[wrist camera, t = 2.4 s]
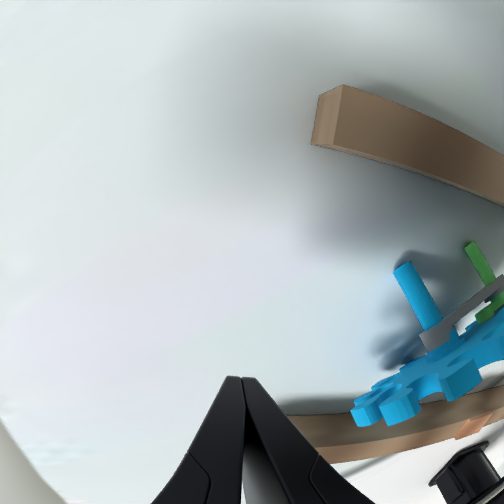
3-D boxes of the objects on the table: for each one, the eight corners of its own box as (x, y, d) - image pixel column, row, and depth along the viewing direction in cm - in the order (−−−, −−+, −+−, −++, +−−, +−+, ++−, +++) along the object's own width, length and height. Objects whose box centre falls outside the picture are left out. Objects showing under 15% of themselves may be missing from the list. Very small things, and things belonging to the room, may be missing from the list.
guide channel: (574, 216, 14) (597, 226, 11) (496, 400, 20) (511, 417, 17) (319, 94, 11) (346, 81, 8) (244, 435, 16) (248, 472, 14)
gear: (340, 427, 15) (417, 462, 6) (298, 335, 17) (324, 267, 8) (480, 334, 16) (589, 279, 7) (441, 260, 18) (524, 168, 9)
